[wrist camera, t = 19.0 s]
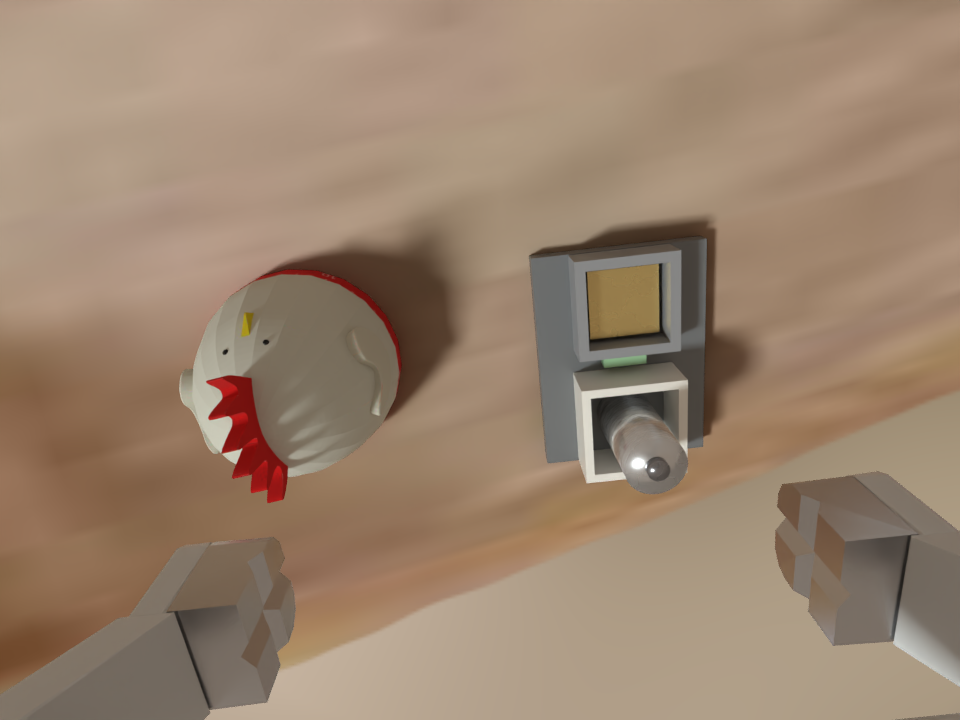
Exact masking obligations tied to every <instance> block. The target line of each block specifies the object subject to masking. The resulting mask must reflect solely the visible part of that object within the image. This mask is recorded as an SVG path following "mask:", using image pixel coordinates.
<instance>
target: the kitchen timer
mask: <svg viewBox="0 0 960 720" xmlns="http://www.w3.org/2000/svg"><path fill="white" fill-rule="evenodd" d="M401 366H402V363H401V357H400V351H399V344H398V339H397V337H396V335H395V333H394V331H393V329H392V327H391V324H390V322H389V320H388V318H387V316H386V315H385V314H384V313H383V311H382V310H381V309H380V308H379V307H378V306H377V305H376V304H375V302H374V301H373V300H372V299H371V298H370V297H369V296H368V295H367V294H366V293H364V292H363V291H361V290H359V289H358V288H356V287H355V286H353V285H352V284H350V283H349V282H347V281H346V280H344V279H341V278H338V277H335V276H332V275H329V274H326V273H323V272H320V271H315V270H290V269H288V270H284V271H280V272H276V273H272V274H268V275H264V276H261V277H259V278H258V279H256V280H255V281H253V282H251V283H250V284H248V285H246V286H245V287H243V288H242V289H240V290H238V291H237V292H235V293H234V294H232V295H231V296H230V297H229V298H228V299H227V300H226V302H225V303H224V304H223V305H222V307H221V308H220V309H219V310H218V311H217V313H216V314H215V315H214V316H213V317H212V319H211V320H210V322H209V323H208V325H207V328H206V330H205V333H204V336H203V338H202V341H201V344H200V346H199V349H198V352H197V355H196V359H195V363H194V367H193V369H185V370H184V371H183V372H182V374H181V377H180V386H179V389H180V396H181V400H182V402H183V404H184V405H186V406H187V407H188V408H190V409H191V410H192V412H193V413H194V415H195V417H196V419H197V421H198V423H199V425H200V428H201V430H202V433H203V436H204V439H205V441H206V444H207V446H208V448H209V449H210V450H211V452H213V453H215V454H218V453H220V452H221V453H222V454H223V455H224V456H225V457H226V458H227V459H228V460H229V461H231V462H233V463H235V464H236V466H235V469H234V472H233V475H232V478H233V479H234V478H239V477H243V476H248V475H251V474H252V481H251V493H255V492H260V491H264V490H268V494H267V503H271V502H275V501H279V500H283V499H284V496H285V491H286V485H287V477H294V476H299V475H303V474H308V473H312V472H316V471H320V470H323V469H325V468H327V467H328V466H330V465H332V464H334V463H336V462H338V461H339V460H341V459H343V458H345V457H346V456H348V455H349V454H351V453H352V452H354V451H355V450H356V449H358V448H359V447H360V446H361V445H362V444H363V443H364V442H365V441H366V440H367V439H368V438H369V437H370V436H371V435H372V434H373V433H374V432H375V431H376V430H377V429H378V428H379V427H380V426H381V424H382V423H383V421H384V420H385V418H386V416H387V414H388V412H389V410H390V408H391V406H392V404H393V402H394V400H395V398H396V394H397V391H398V386H399V379H400V373H401Z"/></svg>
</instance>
